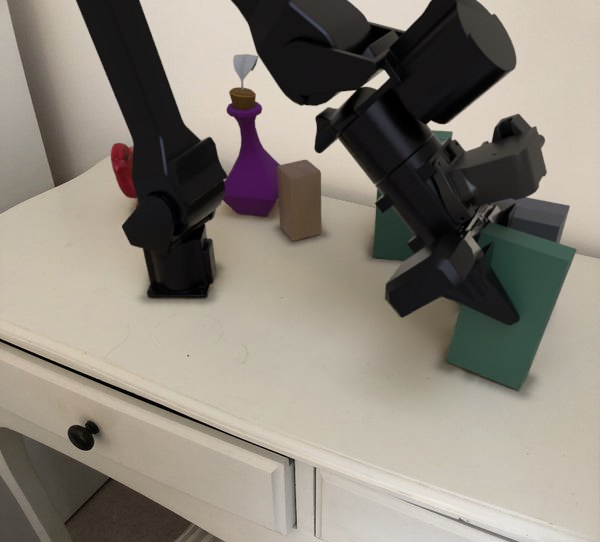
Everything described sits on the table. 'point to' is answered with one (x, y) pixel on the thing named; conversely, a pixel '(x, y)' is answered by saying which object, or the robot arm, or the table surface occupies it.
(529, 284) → the green book
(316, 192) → the wooden block
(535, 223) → the charcoal book
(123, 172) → the decorative bird figurine
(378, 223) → the green book
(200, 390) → the table surface
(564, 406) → the table surface
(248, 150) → the perfume bottle
